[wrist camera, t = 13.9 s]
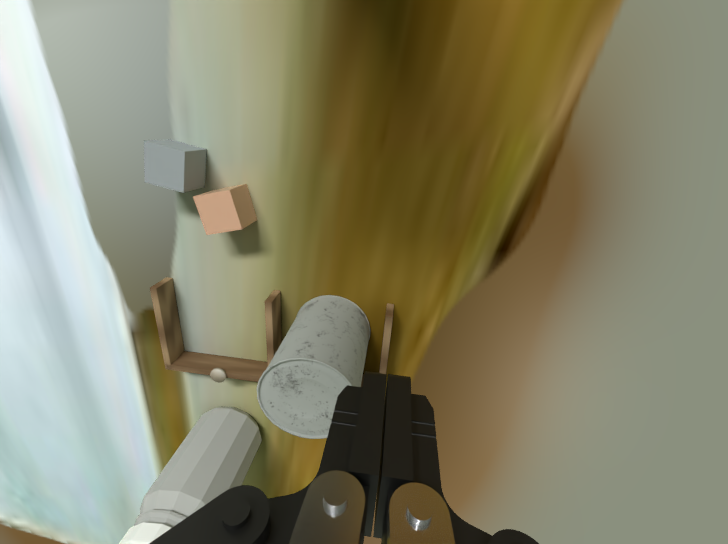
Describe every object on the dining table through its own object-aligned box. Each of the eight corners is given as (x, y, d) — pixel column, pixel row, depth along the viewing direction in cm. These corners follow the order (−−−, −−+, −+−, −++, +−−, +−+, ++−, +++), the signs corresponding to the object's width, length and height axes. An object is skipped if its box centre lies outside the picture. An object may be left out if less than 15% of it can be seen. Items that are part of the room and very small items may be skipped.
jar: (275, 445, 52) (214, 592, 35) (220, 454, 54) (139, 597, 38) (247, 396, 49) (166, 533, 32) (190, 407, 51) (87, 541, 34)
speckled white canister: (369, 295, 40) (355, 360, 29) (371, 361, 44) (360, 442, 33) (290, 294, 41) (248, 356, 30) (300, 359, 45) (265, 436, 34)
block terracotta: (213, 189, 37) (192, 196, 34) (246, 183, 37) (229, 189, 33) (225, 224, 39) (206, 234, 35) (257, 219, 38) (242, 229, 35)
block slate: (170, 139, 36) (144, 140, 32) (207, 149, 36) (184, 151, 32) (170, 177, 37) (144, 182, 34) (205, 186, 37) (183, 192, 34)
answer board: (166, 277, 42) (147, 289, 39) (393, 304, 40) (392, 318, 37) (180, 358, 47) (164, 374, 44) (383, 386, 45) (382, 405, 42)
